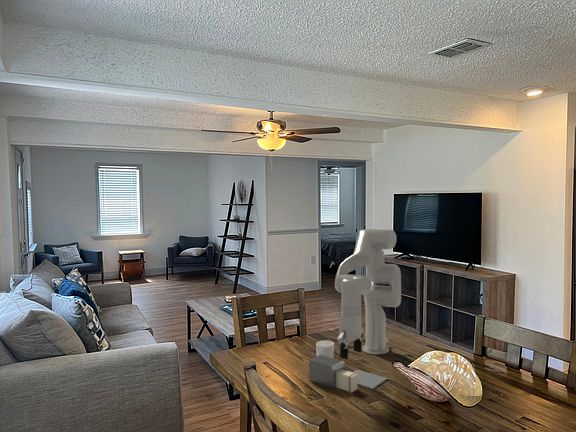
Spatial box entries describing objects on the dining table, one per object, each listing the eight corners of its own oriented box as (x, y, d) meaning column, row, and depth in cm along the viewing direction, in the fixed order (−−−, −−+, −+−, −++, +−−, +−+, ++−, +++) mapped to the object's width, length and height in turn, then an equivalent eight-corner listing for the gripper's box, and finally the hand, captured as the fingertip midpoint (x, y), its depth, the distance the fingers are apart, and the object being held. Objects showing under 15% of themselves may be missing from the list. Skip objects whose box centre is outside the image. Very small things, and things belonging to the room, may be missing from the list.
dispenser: (320, 374, 183) (320, 354, 183) (344, 382, 175) (344, 361, 175) (309, 380, 177) (309, 359, 177) (333, 388, 170) (333, 367, 169)
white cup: (333, 369, 188) (333, 347, 188) (314, 368, 190) (314, 345, 189) (334, 363, 196) (334, 341, 195) (317, 361, 197) (317, 340, 197)
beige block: (331, 380, 177) (331, 366, 177) (357, 388, 170) (357, 373, 169) (325, 384, 174) (325, 369, 174) (351, 392, 166) (351, 377, 166)
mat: (357, 370, 187) (357, 369, 187) (387, 379, 178) (387, 378, 178) (341, 380, 178) (341, 378, 178) (372, 389, 169) (372, 388, 169)
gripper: (354, 305, 176) (354, 347, 177) (330, 313, 163) (330, 358, 164) (371, 308, 172) (370, 351, 172) (347, 316, 158) (347, 363, 159)
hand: (350, 354), depth 168 cm, fingers open, 9 cm apart
